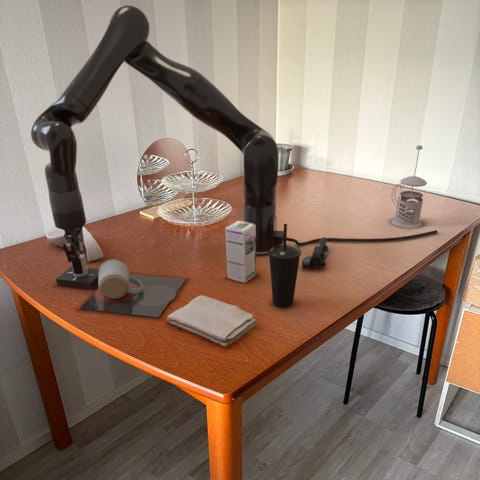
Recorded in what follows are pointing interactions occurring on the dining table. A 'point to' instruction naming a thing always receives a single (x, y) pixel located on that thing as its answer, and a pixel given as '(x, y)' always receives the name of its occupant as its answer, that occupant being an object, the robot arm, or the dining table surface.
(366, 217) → the dining table surface
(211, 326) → the washcloth
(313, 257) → the can opener
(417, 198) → the french press
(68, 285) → the control box
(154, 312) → the hob
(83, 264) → the hob knob
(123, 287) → the ceramic mug
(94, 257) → the spoon rest
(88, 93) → the robot arm
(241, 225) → the syrup box
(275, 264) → the drinking cup
